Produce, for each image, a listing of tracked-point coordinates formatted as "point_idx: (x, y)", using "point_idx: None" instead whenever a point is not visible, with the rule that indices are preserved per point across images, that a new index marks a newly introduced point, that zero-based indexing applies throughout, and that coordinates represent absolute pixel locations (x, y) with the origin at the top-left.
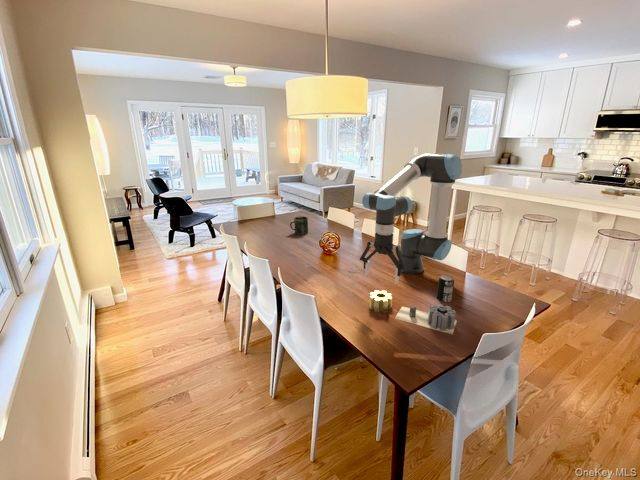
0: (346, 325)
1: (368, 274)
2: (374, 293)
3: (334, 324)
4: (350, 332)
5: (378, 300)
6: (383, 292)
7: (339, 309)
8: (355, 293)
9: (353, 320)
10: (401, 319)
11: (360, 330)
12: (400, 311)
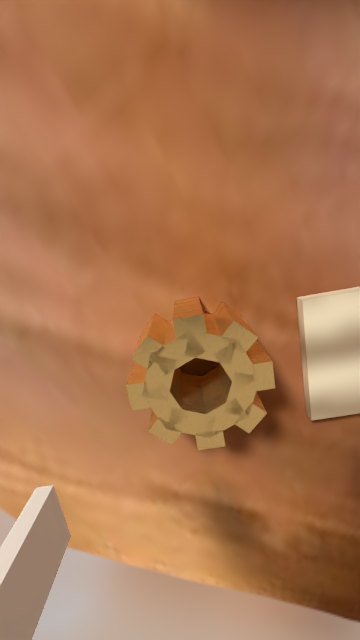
0: (160, 541)
1: (54, 501)
2: (153, 390)
3: (121, 559)
4: (198, 561)
5: (219, 443)
6: (194, 344)
7: (61, 478)
8: (8, 315)
9: (161, 504)
10: (342, 409)
11: (221, 535)
12: (313, 352)
